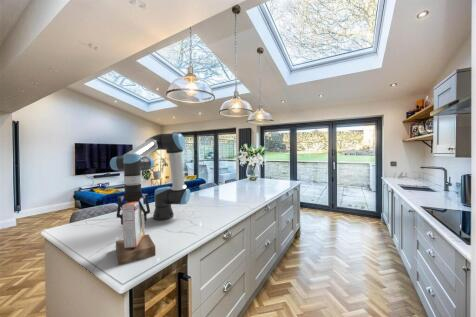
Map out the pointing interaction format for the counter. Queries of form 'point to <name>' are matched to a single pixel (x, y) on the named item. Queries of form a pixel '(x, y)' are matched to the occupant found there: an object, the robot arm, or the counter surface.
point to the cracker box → (132, 224)
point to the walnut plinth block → (135, 250)
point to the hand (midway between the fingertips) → (134, 228)
